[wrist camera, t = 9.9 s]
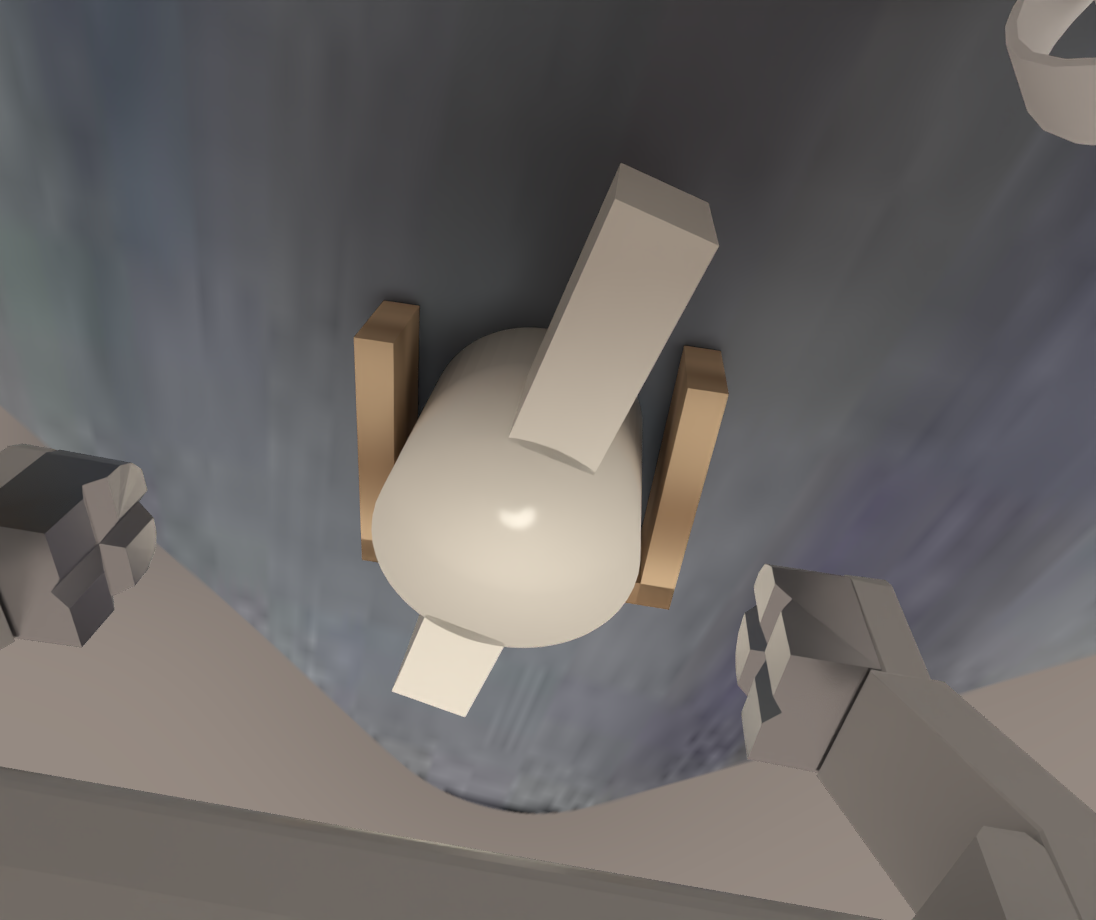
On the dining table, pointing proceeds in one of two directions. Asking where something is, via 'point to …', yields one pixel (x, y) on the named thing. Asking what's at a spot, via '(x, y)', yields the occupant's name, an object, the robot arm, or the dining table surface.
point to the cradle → (680, 469)
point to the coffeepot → (1052, 69)
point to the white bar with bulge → (539, 456)
